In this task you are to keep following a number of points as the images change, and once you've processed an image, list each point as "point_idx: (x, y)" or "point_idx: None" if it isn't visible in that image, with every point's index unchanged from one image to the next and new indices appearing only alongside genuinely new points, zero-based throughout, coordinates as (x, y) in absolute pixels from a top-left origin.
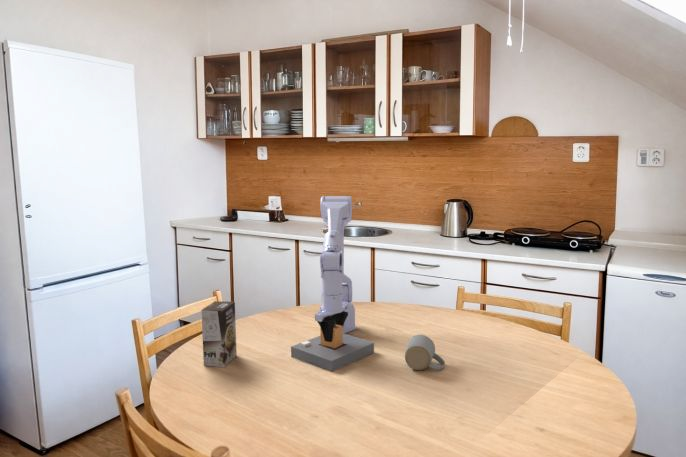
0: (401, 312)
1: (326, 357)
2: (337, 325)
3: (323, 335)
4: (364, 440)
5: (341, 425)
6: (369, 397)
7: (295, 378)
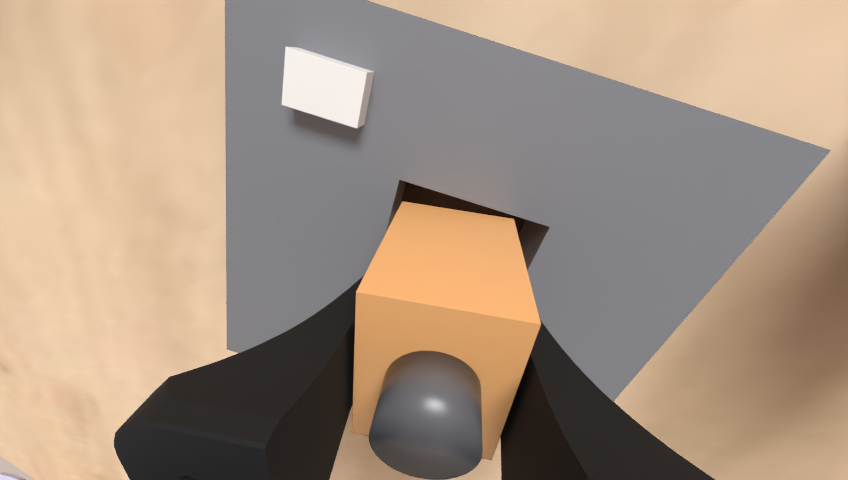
0: None
1: (245, 314)
2: (482, 424)
3: (348, 289)
4: (45, 466)
5: (38, 424)
6: None
7: (91, 196)
